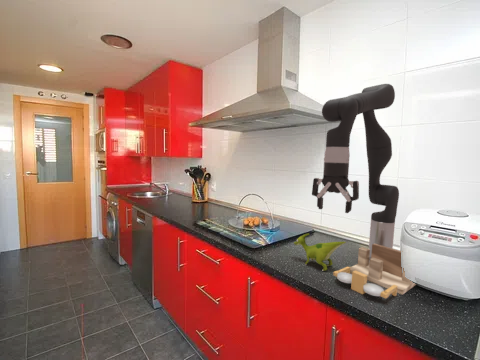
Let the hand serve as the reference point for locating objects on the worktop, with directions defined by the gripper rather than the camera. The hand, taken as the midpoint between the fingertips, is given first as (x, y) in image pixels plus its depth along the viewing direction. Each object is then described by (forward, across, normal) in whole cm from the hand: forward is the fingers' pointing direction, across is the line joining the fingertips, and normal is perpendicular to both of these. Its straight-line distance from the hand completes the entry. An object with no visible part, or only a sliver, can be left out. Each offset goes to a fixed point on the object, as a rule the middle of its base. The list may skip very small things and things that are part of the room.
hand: (333, 210), depth 80 cm
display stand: (+27, -13, -20) cm, 36 cm away
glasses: (+27, -9, -7) cm, 29 cm away
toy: (+27, +9, -15) cm, 32 cm away
